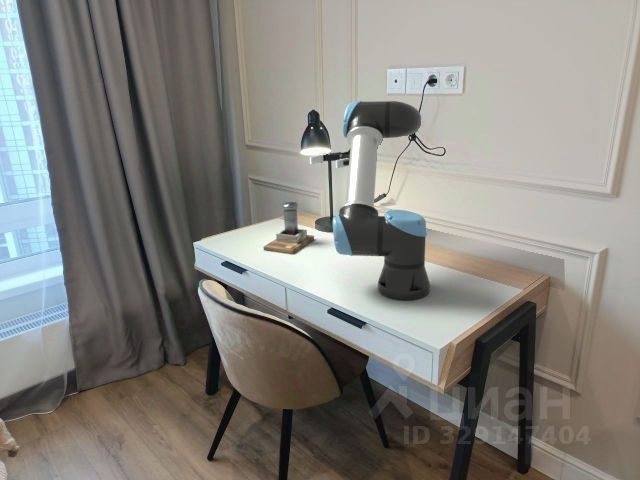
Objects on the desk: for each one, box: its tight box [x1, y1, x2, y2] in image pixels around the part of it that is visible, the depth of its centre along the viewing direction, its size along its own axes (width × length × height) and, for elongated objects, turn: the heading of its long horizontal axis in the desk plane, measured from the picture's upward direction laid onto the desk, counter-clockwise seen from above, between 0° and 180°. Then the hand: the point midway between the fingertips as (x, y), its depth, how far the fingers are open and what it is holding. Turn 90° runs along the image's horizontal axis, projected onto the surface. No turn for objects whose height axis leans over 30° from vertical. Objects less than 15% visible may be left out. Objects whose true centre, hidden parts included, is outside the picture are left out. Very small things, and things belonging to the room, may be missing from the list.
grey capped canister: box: [281, 201, 299, 236], centre depth 182 cm, size 6×6×14 cm
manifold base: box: [263, 228, 315, 255], centre depth 182 cm, size 18×12×4 cm, turn 155°
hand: (323, 162), depth 179 cm, fingers open, 13 cm apart
